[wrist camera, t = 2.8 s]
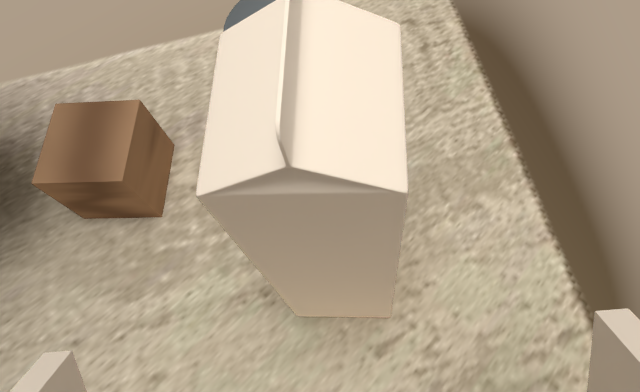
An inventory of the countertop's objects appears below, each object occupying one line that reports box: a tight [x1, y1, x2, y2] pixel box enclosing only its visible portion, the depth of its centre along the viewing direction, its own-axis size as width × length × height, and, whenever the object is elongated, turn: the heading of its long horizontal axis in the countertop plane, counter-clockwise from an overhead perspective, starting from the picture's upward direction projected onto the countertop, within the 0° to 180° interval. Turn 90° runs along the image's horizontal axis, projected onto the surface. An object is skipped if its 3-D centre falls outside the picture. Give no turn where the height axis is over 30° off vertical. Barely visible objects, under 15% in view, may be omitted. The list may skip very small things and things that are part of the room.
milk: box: [196, 0, 408, 318], centre depth 21 cm, size 6×6×22 cm
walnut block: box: [31, 100, 174, 219], centre depth 33 cm, size 6×6×6 cm
